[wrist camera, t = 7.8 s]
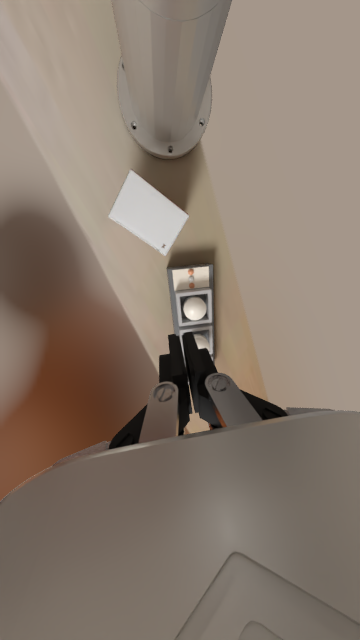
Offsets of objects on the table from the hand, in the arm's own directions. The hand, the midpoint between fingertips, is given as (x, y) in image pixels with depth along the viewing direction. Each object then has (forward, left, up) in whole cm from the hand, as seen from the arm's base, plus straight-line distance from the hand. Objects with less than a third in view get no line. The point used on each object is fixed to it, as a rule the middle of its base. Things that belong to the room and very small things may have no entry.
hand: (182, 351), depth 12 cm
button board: (+9, +4, -24) cm, 26 cm away
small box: (-10, -1, -24) cm, 26 cm away
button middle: (+11, +4, -19) cm, 22 cm away
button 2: (+4, +4, -20) cm, 21 cm away
